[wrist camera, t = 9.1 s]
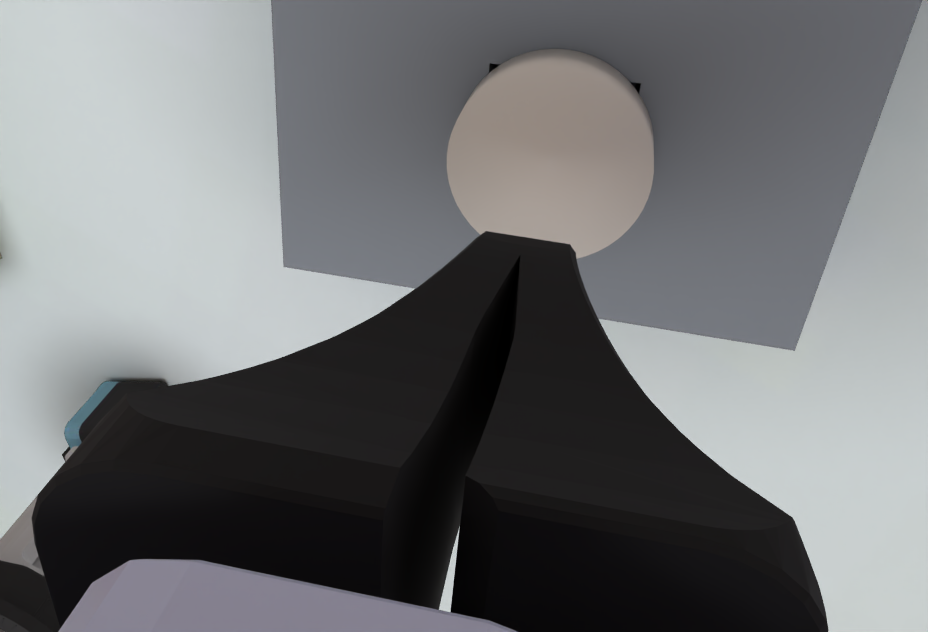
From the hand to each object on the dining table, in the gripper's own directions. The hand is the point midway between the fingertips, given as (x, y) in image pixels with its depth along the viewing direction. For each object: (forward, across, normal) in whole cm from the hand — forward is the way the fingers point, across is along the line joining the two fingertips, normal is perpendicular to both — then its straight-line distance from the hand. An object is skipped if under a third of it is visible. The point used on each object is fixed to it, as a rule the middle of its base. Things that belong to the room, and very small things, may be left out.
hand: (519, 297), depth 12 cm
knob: (+8, 0, 0) cm, 8 cm away
